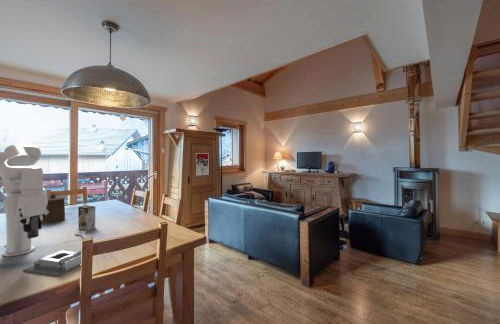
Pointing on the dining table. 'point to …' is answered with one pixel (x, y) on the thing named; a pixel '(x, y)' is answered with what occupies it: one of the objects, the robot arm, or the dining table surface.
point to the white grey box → (62, 259)
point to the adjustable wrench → (81, 234)
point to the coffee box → (86, 217)
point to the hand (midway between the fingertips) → (32, 229)
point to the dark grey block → (33, 227)
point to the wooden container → (55, 209)
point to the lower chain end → (37, 264)
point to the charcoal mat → (47, 271)
